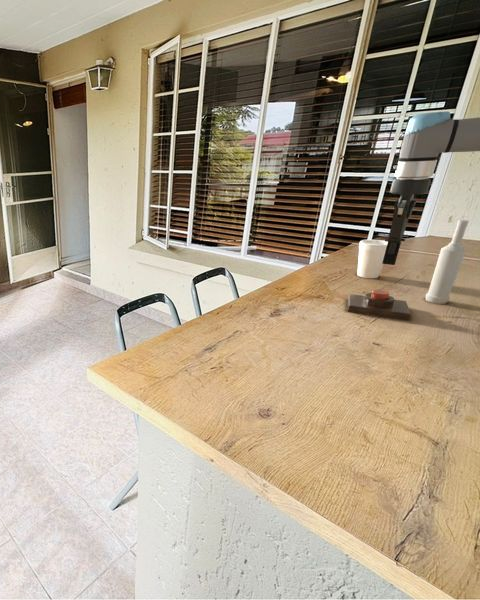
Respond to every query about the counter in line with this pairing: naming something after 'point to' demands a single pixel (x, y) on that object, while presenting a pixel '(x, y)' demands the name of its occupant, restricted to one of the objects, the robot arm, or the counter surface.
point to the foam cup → (371, 258)
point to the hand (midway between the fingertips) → (388, 263)
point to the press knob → (380, 294)
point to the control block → (378, 306)
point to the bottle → (447, 267)
